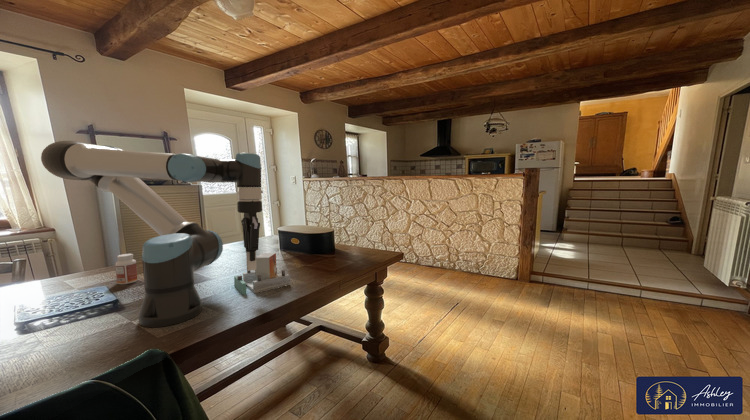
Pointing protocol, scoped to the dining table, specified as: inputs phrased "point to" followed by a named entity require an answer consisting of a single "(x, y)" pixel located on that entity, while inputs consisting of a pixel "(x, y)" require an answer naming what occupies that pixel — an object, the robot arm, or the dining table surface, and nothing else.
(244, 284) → the gate
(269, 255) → the small box
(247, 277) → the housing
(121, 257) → the pill bottle
